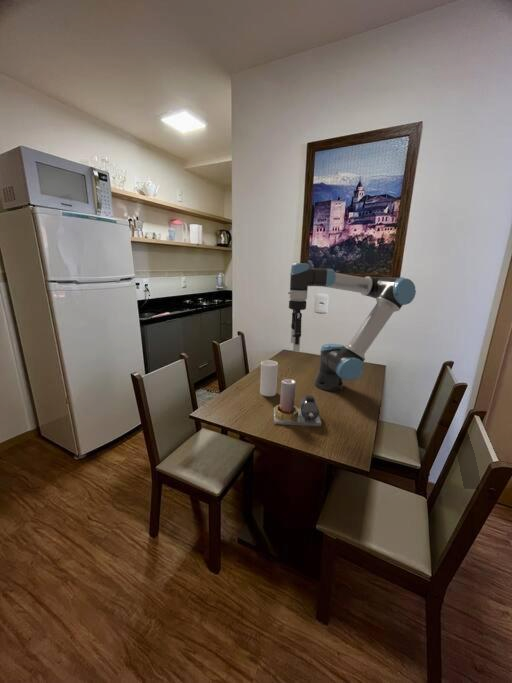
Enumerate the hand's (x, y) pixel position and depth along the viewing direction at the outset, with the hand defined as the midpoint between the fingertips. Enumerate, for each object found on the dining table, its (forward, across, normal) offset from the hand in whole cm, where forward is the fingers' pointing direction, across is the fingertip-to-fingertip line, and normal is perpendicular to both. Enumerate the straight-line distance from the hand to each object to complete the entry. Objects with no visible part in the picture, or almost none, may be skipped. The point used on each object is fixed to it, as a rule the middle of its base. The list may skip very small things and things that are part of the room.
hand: (294, 346), depth 126 cm
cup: (+27, -7, -11) cm, 30 cm away
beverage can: (+25, +16, -3) cm, 30 cm away
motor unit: (+27, +16, +1) cm, 31 cm away
